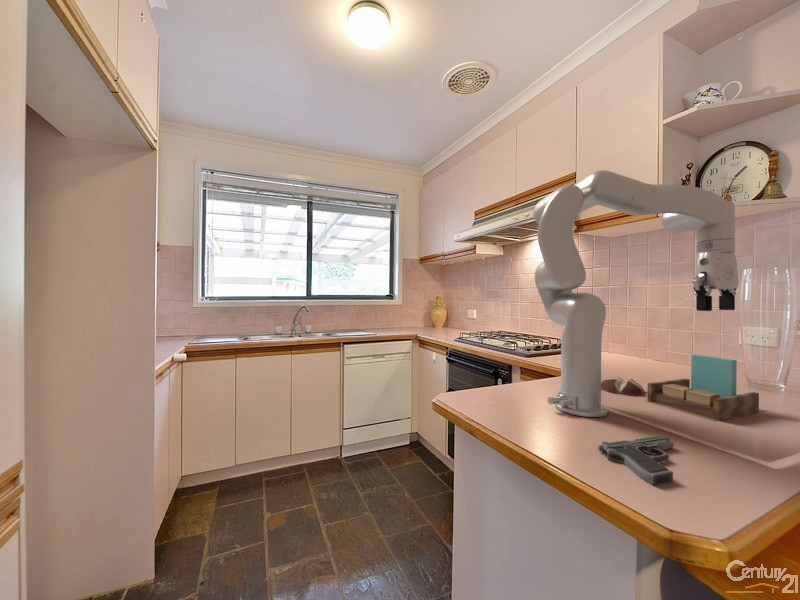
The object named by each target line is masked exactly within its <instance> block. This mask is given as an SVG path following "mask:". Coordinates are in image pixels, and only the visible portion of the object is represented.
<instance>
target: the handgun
mask: <svg viewBox="0 0 800 600" xmlns="http://www.w3.org/2000/svg"><path fill="white" fill-rule="evenodd" d="M674 446H675V445H674V441H672V439H671V440H670V439H669V438H668V437H666V436H663V435H659V434H656V435H653V436H647V437H642V438H641V437H640V438H636V439H633V440H618V441H612V442H609V441H602V443H601V444H600V445H599V444H598V446H597V450H598V451H599V452H601V453H602V454H603V456H604V457H605V458H607V460H608V461H614V462H618V463H620V464H622V465H625V466H626V467H627V468H628V469H629V470H630V471H631V472H632V473H634V474H635V475H636V476H637V477H638V478H640V479H641V480H643V481H644V482H645V483H648V484H650V486H657V485H663V484H667V483H671V482H673V481H674V471H673V470H670V469H668V468H667V467H666V466H664V465H663V464H661V463H663V462H665V461H667V460H668V459H669V457H670V456H669V454H668V453H667V452H665V451H666V450H667V449H668V450H671V449H673V448H674Z"/></svg>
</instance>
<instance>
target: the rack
mask: <svg viewBox="0 0 800 600" xmlns="http://www.w3.org/2000/svg"><path fill="white" fill-rule="evenodd" d="M667 384H675V385H679V386H684V387H688V388H691V378H689V379H688V378H681V379H680V378H679V379H673V380H672V379H671V380H663V381H654V382H648V383H647V399H646V400H645V402H647V403H650V404H654V405H656V406H660V407H664V408H667V409H670V410H674V411H678V412H681V413H683V414H684V413H685V414H688V415H691V416H695V417H699V418H701V419H704V420H705V419H706V420H709V421H712V422H716V423H717V422H721V421H725V420H726V421H727V420H731V419H735V418H740V417H746V416H751V415H755V414H759V413H764V412H767V410H764V409H761V408H759V407H760V393H759V392H756V391H755V392H754V391H752V392H747V393H741V394H736V395H733V396H727V397H721V398H715V399H713V407H710V406H706V405H702V404H698V403H694V402H690V401H687V400H683V399H679V398H675V397H671V396H667V395H663V385H667Z"/></svg>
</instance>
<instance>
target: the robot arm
mask: <svg viewBox="0 0 800 600" xmlns="http://www.w3.org/2000/svg"><path fill="white" fill-rule="evenodd" d="M595 206H602V207H605V208H608V209H611V210H614V211H617V212H620V213H622V214H626V215H630V216H651V215H652V216H653V215H661V214H662V216H661V219H660V220H661V221H660V222H661V225H662V226H663V228H664V229H666V230H667V231H669V232H674V233H682V232H688V231H696V255H697V257H696V265H695V277H694V278H693V279H692V280H691V283H692V285H693V290H694V291H695V292H694V295H695V296H696V297H695V298H696V299H695V300H696V301H695V302H696V306H695V307H696V311H697V312H712V311H713V296H712V295H711V294H712V292H713V290H718V292H719V294H720V295H718V310H719V311H735V309H736V308H735V307H736V305H735V304H736V301H735V300H736V298H735V297H736V294H737V292H736V291H737V288H738V287H739V270H738V262H737V257H736V254H735V252H736V207H735V203H734V202H733V201H730V200H725V198H723V197H722V196H721V195H720V194H718V193H715V192H713V191H710V190H707V189H704V188H701V187H697V186H693V185H692V186H691V185H683V184H682V185H680V184H679V185H677V184H650V183H647V182H643V181H641V180H637V179H633V178H632V177H628V176H625V175H623V174H619V173H616V172H613V171H610V170H603V169H601V170H596V171H594V172H592V173H590V174H588V175H586V176H585V177H583V178H582V179H580V180H579V181H577V182H575V183H573V184H566V185H563V186H561V187H559V188H557V189H555V190H554V191H552V192H551V193H550V194H548V195H547V196H544V198H542V199H541V200H539V201H538V202H537V203H536V205H535V206H534V208H533V212H532V215H533V216H532V217H533V220H534V221H535V223H536V224H538V227H537V242H538V243H537V244H538V246H539V249H540V254H541V256H542V259H543V261H542V262H540V263H539V265H537V267H536V269H535V272H534V283H535V286H536V289H537V292H538V294H539V297H540V300H541V302H542V305H543V306H544V309H545V312H546V314H547V316H548V318H549V319H550V320H551V321H552V322H553V323H555V324H557V325H561V326H564V329H563V331H562V336H561V343H560V351H561V352H560V353H561V355H560V356H561V357H560V390H559V391H558V392H557V395H556V396H549V397H547V403H548V404H549V405H551V406H552V405H554V406H555V408H556V409H557V410H560V411H561V412H563V413H567V414H570V415H573V416H574V415H575V416H580V417H584V418H586V417H588V418H598V417H599V418H601V417H605V416H606V417H607V415H608V414H609V409H608V408H607V407H606V405H604V404H602V390H601V383H602V343H603V342H602V341H603V340H602V339H603V333H604V332H603V331H604V325H605V322H606V318H607V308H606V305H605V303H604V302H603V300H602V299H601V298H600V297H599V296H597V295H595V294H593V293H589V292H574V291H573V290H575V289H578V288H579V287H581V286H583V285H584V284H585V282H586V279H587V271H586V268H585V265H584V262H583V260H582V258H581V254H580V252H579V250H578V247H577V245H576V242H575V238H574V234H573V233H574V232H573V227H574V223H575V219H576V217H577V216H578V215H579V214H581V213H583V212H585V211H587V210H588V209H591V208H593V207H595Z"/></svg>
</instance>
